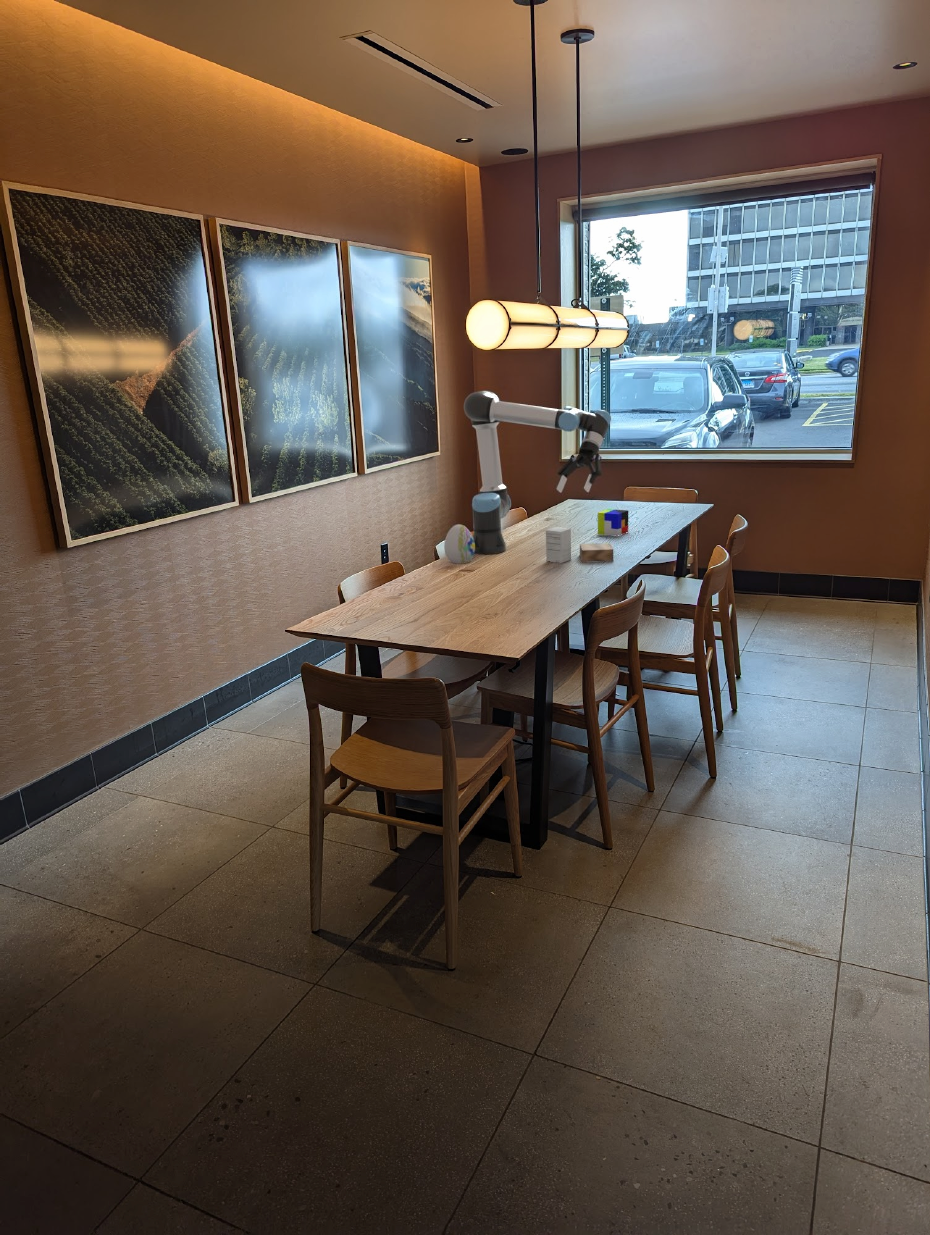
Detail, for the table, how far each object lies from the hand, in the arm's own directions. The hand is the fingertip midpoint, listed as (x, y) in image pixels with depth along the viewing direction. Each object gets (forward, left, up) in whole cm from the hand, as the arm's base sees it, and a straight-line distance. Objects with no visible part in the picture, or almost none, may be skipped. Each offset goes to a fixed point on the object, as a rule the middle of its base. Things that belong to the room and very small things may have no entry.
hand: (572, 490), depth 330 cm
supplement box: (-6, -8, -26) cm, 28 cm away
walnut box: (+9, -6, -27) cm, 29 cm away
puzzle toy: (+22, +41, -26) cm, 53 cm away
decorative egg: (-45, -3, -26) cm, 53 cm away
